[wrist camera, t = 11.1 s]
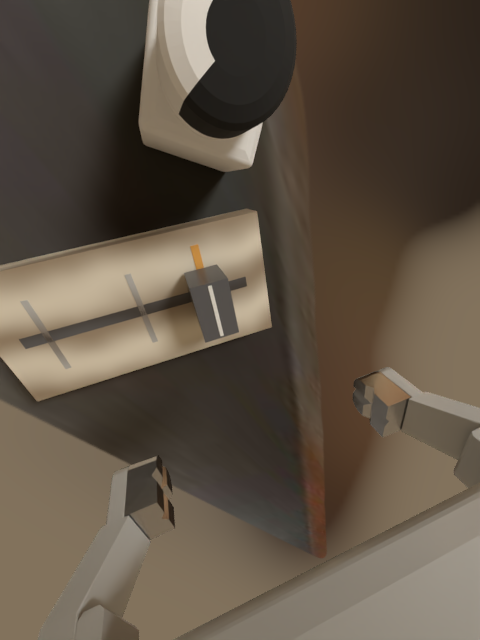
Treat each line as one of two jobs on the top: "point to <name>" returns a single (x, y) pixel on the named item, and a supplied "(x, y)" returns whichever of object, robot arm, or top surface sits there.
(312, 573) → the robot arm
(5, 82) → the top surface
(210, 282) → the fader knob
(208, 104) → the medicine bottle
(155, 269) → the control strip
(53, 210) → the top surface
